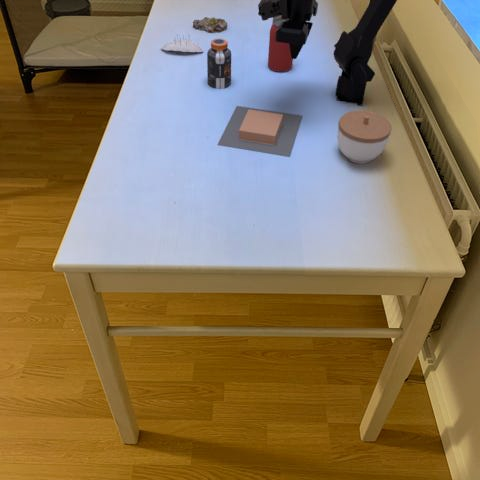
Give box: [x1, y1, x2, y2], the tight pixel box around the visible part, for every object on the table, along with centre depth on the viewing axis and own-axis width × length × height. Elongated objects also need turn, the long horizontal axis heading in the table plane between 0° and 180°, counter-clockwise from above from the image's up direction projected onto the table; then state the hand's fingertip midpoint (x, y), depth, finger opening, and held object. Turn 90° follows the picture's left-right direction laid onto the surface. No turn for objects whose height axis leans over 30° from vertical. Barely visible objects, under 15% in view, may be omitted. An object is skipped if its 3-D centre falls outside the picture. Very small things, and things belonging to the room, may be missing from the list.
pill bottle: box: [206, 38, 232, 90], centre depth 126 cm, size 6×6×11 cm
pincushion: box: [160, 34, 204, 53], centre depth 141 cm, size 12×6×6 cm, turn 84°
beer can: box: [267, 18, 294, 73], centre depth 133 cm, size 7×7×12 cm
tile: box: [239, 109, 283, 145], centre depth 113 cm, size 8×2×9 cm
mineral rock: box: [192, 16, 228, 34], centre depth 154 cm, size 11×4×8 cm
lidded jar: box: [336, 110, 393, 164], centre depth 106 cm, size 11×11×9 cm
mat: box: [217, 105, 303, 158], centre depth 115 cm, size 16×17×1 cm
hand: (293, 58), depth 115 cm, fingers closed
